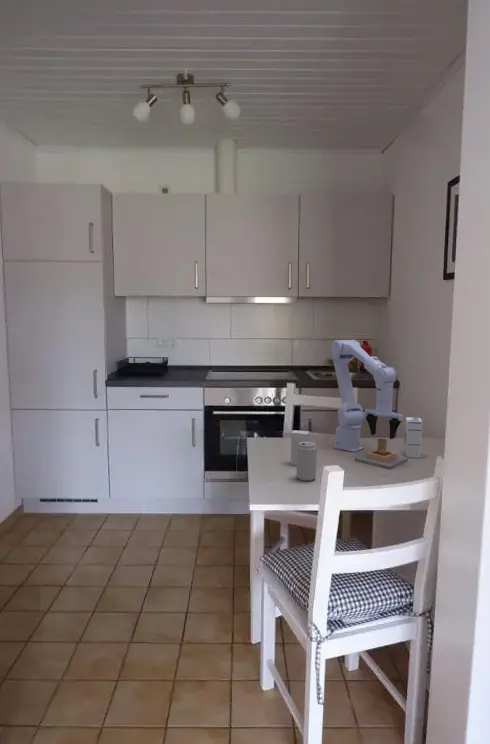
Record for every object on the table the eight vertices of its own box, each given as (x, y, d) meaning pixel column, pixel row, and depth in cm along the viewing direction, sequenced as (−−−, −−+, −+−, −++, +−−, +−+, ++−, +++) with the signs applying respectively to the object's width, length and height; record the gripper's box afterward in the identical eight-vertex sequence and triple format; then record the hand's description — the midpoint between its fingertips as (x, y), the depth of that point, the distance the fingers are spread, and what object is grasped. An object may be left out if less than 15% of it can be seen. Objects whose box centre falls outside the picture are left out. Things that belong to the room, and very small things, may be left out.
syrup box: (421, 458, 195) (423, 420, 193) (405, 457, 196) (407, 419, 194) (419, 453, 200) (421, 417, 198) (403, 452, 202) (405, 416, 200)
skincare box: (309, 463, 187) (310, 431, 185) (306, 466, 183) (307, 434, 181) (293, 461, 189) (293, 429, 187) (290, 464, 185) (290, 432, 183)
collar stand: (355, 460, 190) (355, 452, 190) (374, 453, 201) (374, 445, 200) (389, 469, 181) (390, 460, 181) (407, 460, 191) (408, 453, 191)
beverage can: (294, 475, 173) (295, 441, 171) (313, 475, 174) (314, 440, 172) (298, 482, 167) (299, 446, 165) (317, 481, 167) (318, 445, 166)
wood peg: (375, 458, 191) (376, 439, 190) (379, 456, 193) (380, 438, 192) (383, 459, 188) (384, 441, 187) (387, 458, 191) (388, 439, 190)
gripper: (361, 399, 190) (359, 434, 192) (397, 404, 180) (395, 442, 182) (370, 396, 195) (369, 431, 197) (406, 402, 185) (404, 438, 187)
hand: (382, 436), depth 190 cm, fingers open, 7 cm apart
